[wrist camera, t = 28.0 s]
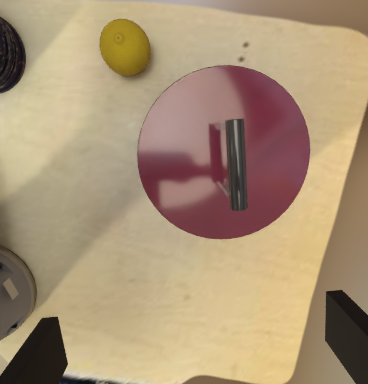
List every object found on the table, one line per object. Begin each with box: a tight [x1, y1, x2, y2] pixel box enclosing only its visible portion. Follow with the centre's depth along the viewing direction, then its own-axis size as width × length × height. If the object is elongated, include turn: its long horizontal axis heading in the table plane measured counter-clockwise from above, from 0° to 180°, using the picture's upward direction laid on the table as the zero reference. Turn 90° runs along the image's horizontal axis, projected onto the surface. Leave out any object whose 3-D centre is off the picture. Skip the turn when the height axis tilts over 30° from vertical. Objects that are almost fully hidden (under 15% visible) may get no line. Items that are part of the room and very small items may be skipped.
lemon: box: [100, 19, 150, 76], centre depth 32 cm, size 6×6×8 cm
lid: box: [137, 65, 310, 239], centre depth 28 cm, size 20×20×9 cm
